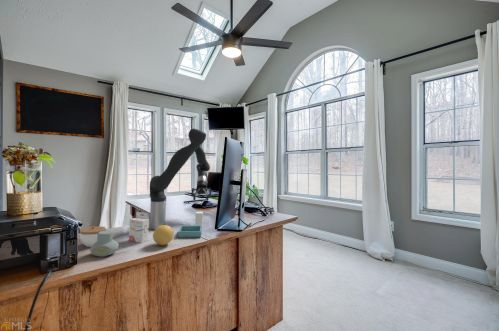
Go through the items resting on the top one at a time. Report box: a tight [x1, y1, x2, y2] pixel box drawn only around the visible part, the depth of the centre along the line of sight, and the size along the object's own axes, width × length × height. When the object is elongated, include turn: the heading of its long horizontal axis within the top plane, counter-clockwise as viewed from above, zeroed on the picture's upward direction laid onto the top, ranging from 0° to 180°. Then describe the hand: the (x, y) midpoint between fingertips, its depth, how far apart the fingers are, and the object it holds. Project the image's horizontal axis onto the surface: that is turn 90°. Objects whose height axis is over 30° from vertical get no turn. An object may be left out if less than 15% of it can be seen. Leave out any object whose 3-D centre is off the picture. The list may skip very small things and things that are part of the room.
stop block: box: [194, 211, 204, 226], centre depth 153 cm, size 4×4×10 cm
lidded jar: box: [79, 225, 107, 248], centre depth 115 cm, size 11×11×9 cm
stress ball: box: [152, 224, 174, 246], centre depth 119 cm, size 10×10×10 cm
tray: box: [177, 225, 203, 239], centre depth 137 cm, size 13×13×4 cm
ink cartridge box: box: [128, 211, 150, 244], centre depth 123 cm, size 9×5×15 cm, turn 74°
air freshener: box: [89, 229, 120, 258], centre depth 104 cm, size 11×8×10 cm
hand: (200, 200), depth 165 cm, fingers open, 8 cm apart
